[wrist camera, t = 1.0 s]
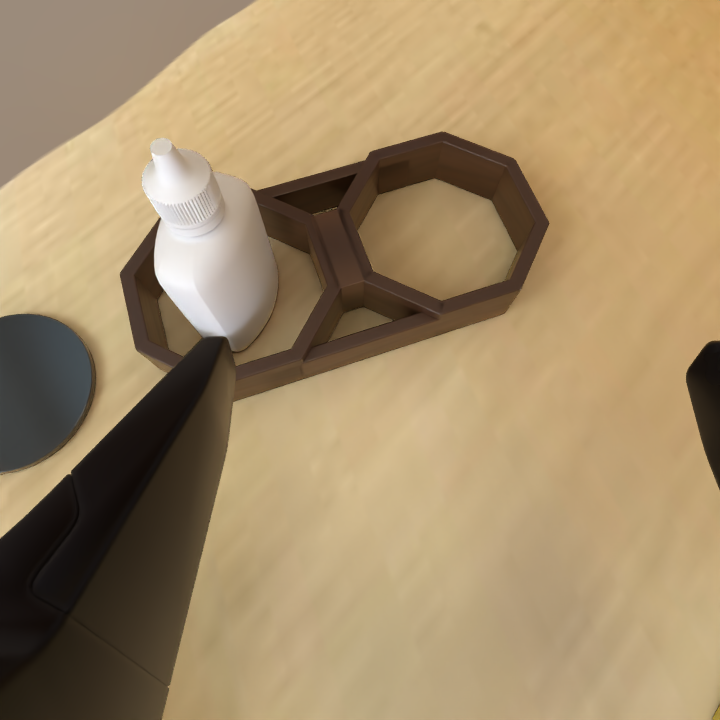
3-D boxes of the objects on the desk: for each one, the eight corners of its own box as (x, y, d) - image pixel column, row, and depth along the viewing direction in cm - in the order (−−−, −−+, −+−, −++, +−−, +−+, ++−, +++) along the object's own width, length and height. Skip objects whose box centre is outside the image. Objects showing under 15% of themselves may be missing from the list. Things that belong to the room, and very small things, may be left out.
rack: (553, 298, 27) (576, 271, 25) (171, 422, 25) (147, 408, 22) (480, 154, 31) (492, 116, 28) (133, 254, 28) (108, 223, 25)
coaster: (47, 496, 24) (41, 496, 24) (-105, 445, 25) (-113, 444, 24) (123, 341, 27) (119, 338, 26) (-17, 298, 27) (-22, 295, 27)
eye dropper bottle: (178, 310, 27) (47, 154, 16) (258, 248, 28) (190, 63, 17) (227, 366, 26) (126, 242, 15) (308, 300, 27) (272, 138, 16)
